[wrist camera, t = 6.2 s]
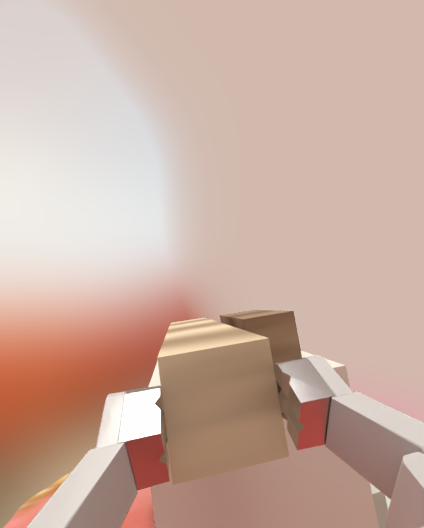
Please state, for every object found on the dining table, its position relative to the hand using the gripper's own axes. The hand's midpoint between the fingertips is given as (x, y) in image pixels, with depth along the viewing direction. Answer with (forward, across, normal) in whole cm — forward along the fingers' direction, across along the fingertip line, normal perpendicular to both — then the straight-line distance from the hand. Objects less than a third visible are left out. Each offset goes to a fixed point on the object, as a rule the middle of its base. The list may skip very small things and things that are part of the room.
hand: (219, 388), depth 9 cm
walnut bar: (+11, -5, +9) cm, 15 cm away
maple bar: (+7, 0, +7) cm, 10 cm away
